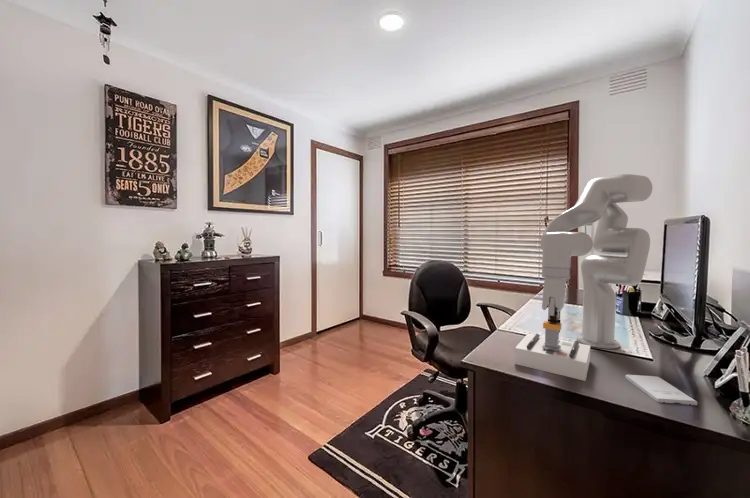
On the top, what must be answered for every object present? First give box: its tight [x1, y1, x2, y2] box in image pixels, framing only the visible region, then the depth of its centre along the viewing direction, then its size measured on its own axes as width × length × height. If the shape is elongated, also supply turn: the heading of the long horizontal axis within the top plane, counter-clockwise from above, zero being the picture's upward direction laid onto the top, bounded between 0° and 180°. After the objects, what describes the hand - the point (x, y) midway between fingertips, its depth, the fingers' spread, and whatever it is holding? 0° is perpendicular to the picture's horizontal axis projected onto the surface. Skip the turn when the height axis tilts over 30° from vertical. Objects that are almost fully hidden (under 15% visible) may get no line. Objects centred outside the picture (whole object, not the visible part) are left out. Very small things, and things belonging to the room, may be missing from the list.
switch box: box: [514, 333, 591, 382], centre depth 97 cm, size 16×18×6 cm
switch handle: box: [542, 320, 563, 352], centre depth 94 cm, size 4×4×8 cm
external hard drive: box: [624, 374, 698, 406], centre depth 80 cm, size 2×8×12 cm
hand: (553, 331), depth 97 cm, fingers closed
